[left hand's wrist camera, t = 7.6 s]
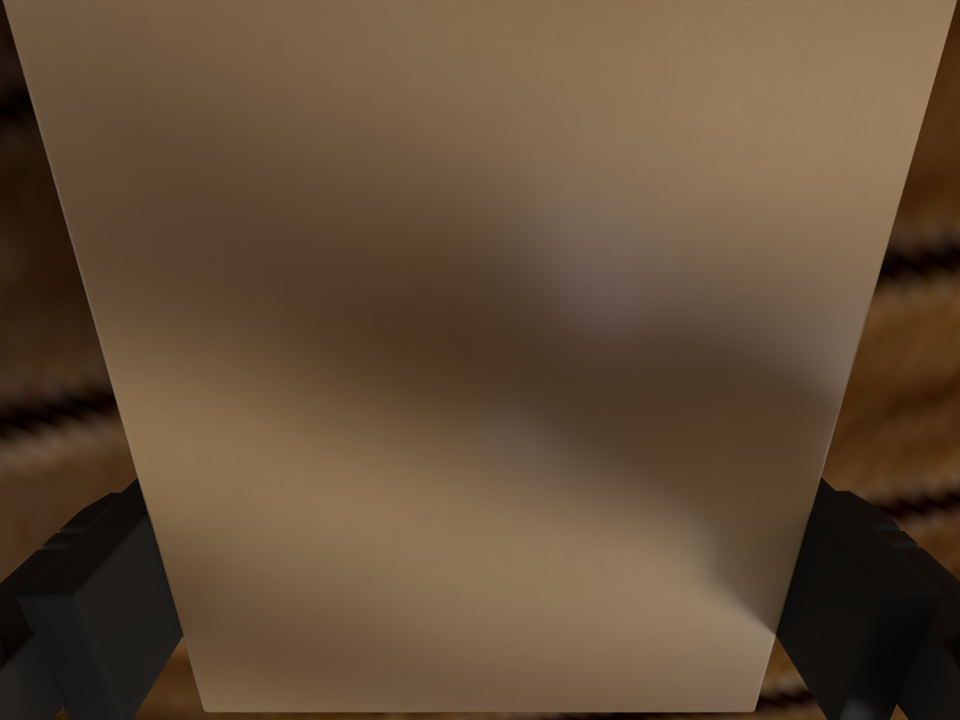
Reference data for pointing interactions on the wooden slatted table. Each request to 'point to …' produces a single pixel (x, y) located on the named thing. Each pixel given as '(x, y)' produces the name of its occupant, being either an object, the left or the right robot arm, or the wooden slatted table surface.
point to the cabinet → (479, 324)
